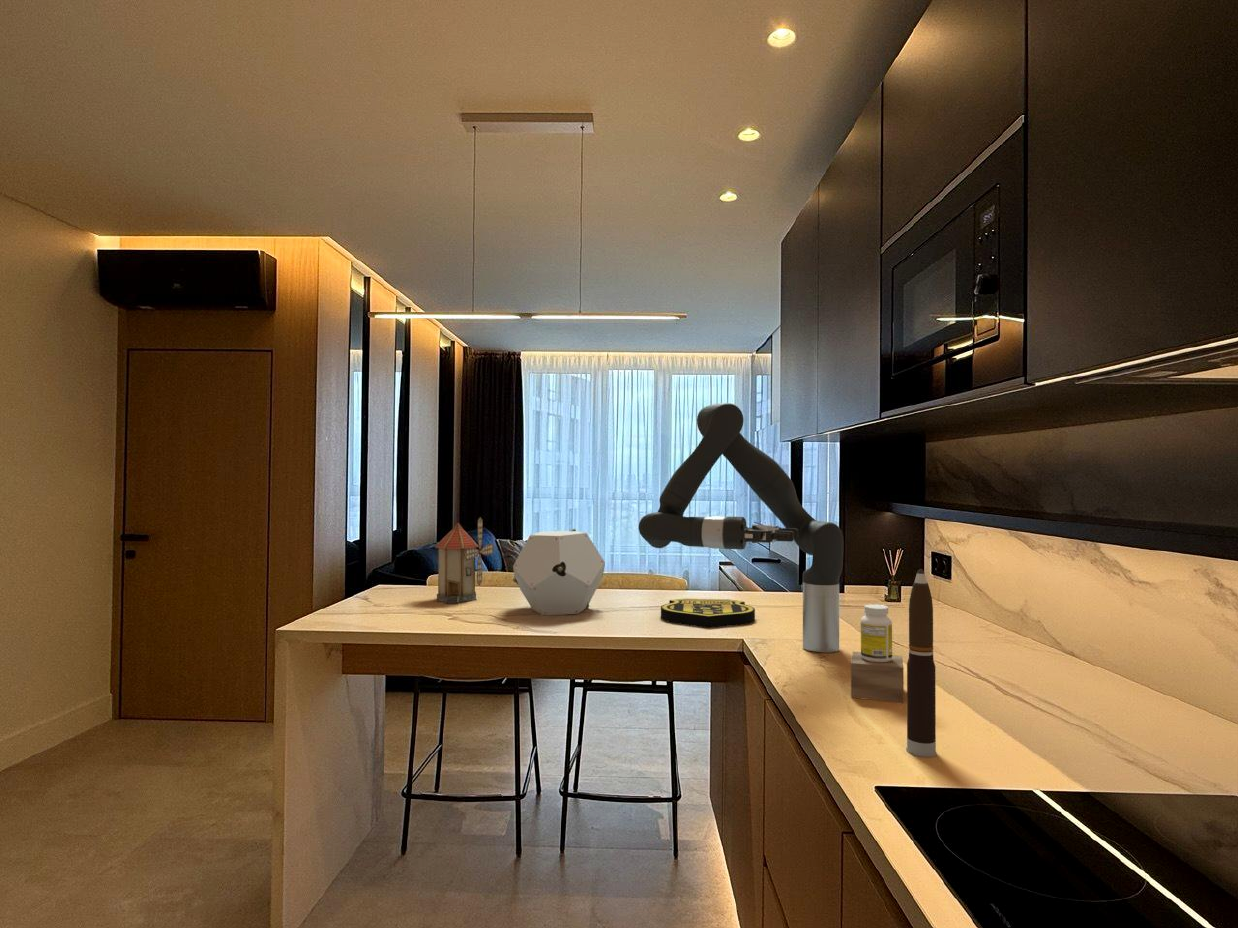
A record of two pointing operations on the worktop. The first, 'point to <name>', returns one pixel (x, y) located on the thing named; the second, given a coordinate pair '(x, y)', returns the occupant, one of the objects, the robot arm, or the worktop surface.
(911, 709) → the ammunition
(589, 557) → the geometric sculpture
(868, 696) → the walnut block
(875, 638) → the pill bottle
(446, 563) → the miniature windmill
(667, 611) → the emblem
